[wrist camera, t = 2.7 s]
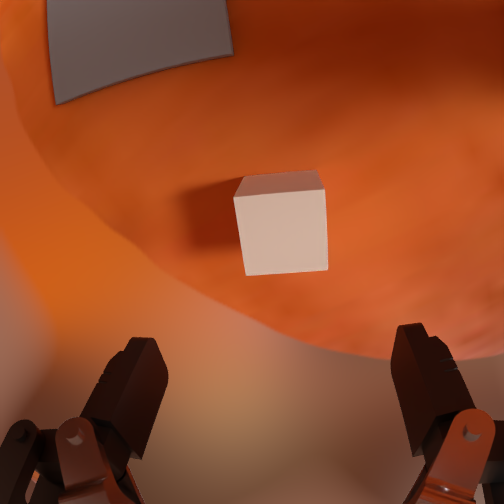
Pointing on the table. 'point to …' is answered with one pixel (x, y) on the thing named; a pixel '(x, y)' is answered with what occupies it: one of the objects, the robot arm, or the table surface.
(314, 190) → the cream cube
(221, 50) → the slate mat
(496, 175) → the table surface
